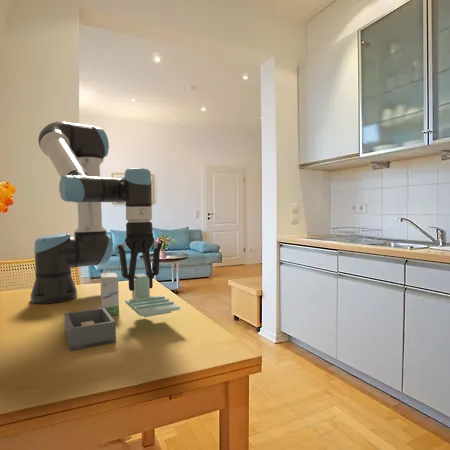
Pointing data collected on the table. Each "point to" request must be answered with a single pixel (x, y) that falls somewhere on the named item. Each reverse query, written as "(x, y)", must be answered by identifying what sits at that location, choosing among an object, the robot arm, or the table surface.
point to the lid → (149, 300)
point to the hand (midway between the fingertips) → (141, 300)
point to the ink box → (110, 293)
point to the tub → (89, 328)
